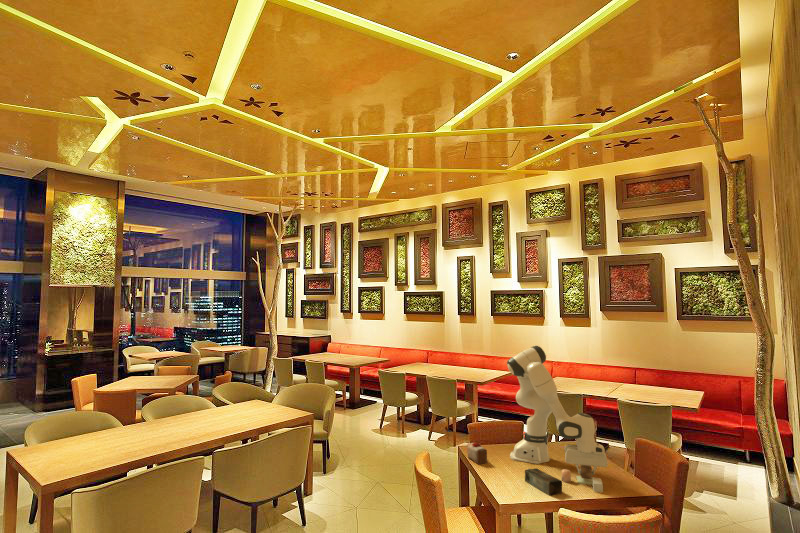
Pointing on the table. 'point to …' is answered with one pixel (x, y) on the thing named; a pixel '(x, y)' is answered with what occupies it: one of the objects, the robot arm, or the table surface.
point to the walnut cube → (586, 471)
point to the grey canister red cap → (477, 453)
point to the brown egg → (566, 475)
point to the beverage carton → (543, 481)
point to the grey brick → (597, 484)
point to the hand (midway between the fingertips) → (586, 473)
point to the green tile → (584, 480)
